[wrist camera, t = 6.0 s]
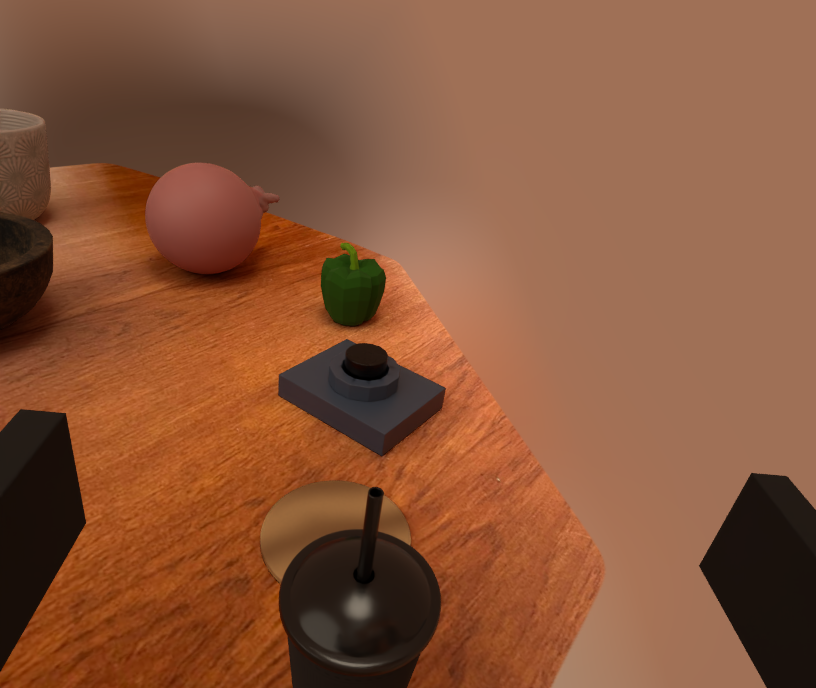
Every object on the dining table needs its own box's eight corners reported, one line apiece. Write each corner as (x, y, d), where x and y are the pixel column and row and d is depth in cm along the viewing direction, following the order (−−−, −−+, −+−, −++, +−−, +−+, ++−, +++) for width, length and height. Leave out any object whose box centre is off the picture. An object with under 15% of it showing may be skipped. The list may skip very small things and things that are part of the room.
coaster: (438, 569, 46) (439, 564, 46) (291, 628, 40) (292, 623, 40) (369, 470, 55) (370, 466, 55) (240, 507, 49) (240, 503, 49)
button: (394, 370, 63) (396, 354, 62) (368, 387, 59) (370, 370, 58) (361, 354, 65) (363, 338, 64) (335, 369, 61) (336, 353, 60)
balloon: (306, 274, 91) (311, 174, 83) (178, 301, 78) (170, 185, 70) (255, 240, 100) (255, 147, 92) (133, 258, 87) (122, 152, 80)
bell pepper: (388, 330, 79) (397, 260, 74) (327, 334, 76) (333, 262, 71) (369, 302, 85) (376, 236, 80) (313, 304, 82) (317, 236, 77)
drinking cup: (254, 713, 35) (255, 459, 25) (366, 657, 39) (405, 418, 29) (305, 852, 30) (332, 600, 20) (429, 771, 34) (503, 526, 24)
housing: (442, 407, 65) (448, 373, 63) (381, 456, 57) (387, 419, 55) (345, 358, 71) (348, 325, 69) (278, 395, 63) (279, 359, 61)
